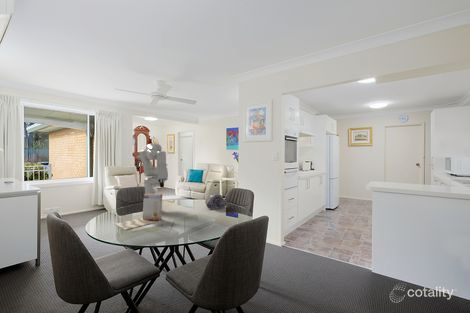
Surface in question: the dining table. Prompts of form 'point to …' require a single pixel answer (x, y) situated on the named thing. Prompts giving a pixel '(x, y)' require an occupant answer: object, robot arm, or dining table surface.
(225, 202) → the toy elephant
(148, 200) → the cracker box
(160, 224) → the dining table surface
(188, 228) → the dining table surface
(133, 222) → the board
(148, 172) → the robot arm
